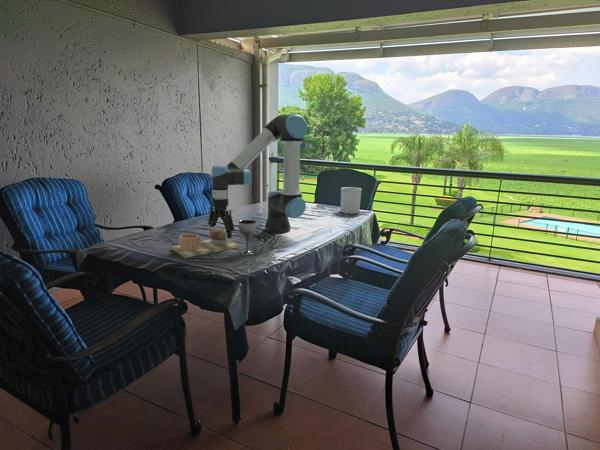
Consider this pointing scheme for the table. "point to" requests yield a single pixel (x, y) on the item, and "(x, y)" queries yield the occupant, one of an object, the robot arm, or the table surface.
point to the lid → (218, 234)
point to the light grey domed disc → (219, 242)
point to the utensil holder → (350, 200)
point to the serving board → (205, 248)
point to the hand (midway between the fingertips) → (221, 241)
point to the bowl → (189, 242)
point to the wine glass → (247, 233)
